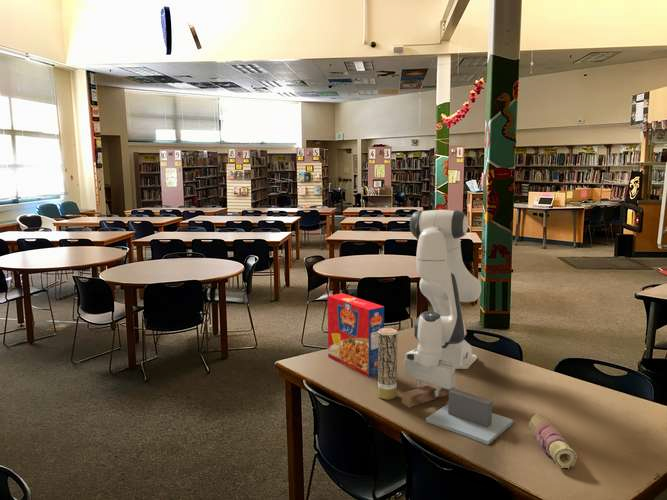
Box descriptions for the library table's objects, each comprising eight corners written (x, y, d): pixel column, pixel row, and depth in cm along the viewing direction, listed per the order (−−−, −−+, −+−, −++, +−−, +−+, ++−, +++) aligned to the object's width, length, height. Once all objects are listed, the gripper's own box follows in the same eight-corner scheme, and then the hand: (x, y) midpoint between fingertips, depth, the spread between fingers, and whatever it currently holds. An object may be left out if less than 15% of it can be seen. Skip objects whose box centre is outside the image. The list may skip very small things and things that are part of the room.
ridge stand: (425, 421, 172) (426, 395, 171) (453, 403, 185) (454, 378, 184) (488, 444, 158) (489, 416, 156) (513, 423, 171) (514, 396, 169)
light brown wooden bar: (446, 389, 197) (446, 379, 197) (454, 393, 194) (454, 382, 193) (401, 403, 186) (401, 393, 185) (409, 408, 182) (409, 397, 182)
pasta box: (328, 357, 231) (327, 295, 227) (342, 353, 236) (342, 293, 231) (368, 377, 209) (368, 309, 204) (383, 372, 213) (384, 306, 209)
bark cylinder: (395, 401, 187) (396, 334, 183) (376, 399, 189) (377, 333, 185) (397, 393, 194) (398, 328, 190) (379, 391, 195) (379, 327, 191)
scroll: (520, 429, 164) (544, 465, 144) (531, 409, 163) (557, 443, 143) (542, 439, 164) (568, 476, 144) (553, 419, 163) (582, 454, 143)
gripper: (459, 361, 183) (458, 399, 185) (411, 348, 196) (410, 383, 199) (450, 367, 178) (449, 405, 180) (401, 353, 192) (400, 388, 194)
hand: (428, 393), depth 190 cm, fingers closed on light brown wooden bar, 5 cm apart
